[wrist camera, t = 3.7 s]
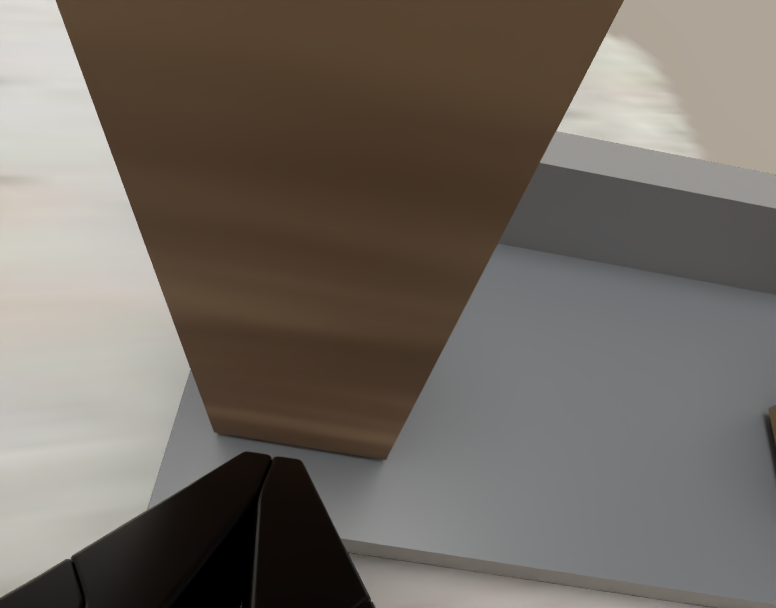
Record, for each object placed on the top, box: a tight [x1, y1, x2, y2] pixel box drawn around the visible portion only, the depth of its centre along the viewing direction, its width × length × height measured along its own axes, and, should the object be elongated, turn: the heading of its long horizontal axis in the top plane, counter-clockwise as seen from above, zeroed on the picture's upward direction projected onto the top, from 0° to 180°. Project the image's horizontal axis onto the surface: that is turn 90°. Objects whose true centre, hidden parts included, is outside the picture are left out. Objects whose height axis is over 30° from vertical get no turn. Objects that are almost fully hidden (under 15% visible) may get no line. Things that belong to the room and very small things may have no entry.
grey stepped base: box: [147, 131, 776, 608], centre depth 16 cm, size 10×20×6 cm, turn 83°
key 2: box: [56, 0, 624, 460], centre depth 10 cm, size 3×4×12 cm
